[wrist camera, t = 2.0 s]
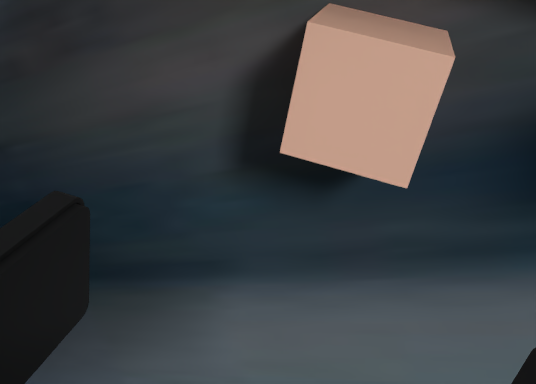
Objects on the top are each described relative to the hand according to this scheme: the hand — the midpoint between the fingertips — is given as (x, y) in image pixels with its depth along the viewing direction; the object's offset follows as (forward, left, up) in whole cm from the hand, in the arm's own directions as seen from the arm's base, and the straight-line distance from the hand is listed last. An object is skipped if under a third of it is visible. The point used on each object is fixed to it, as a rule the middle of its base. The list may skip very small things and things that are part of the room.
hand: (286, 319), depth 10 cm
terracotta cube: (0, 0, -19) cm, 19 cm away
